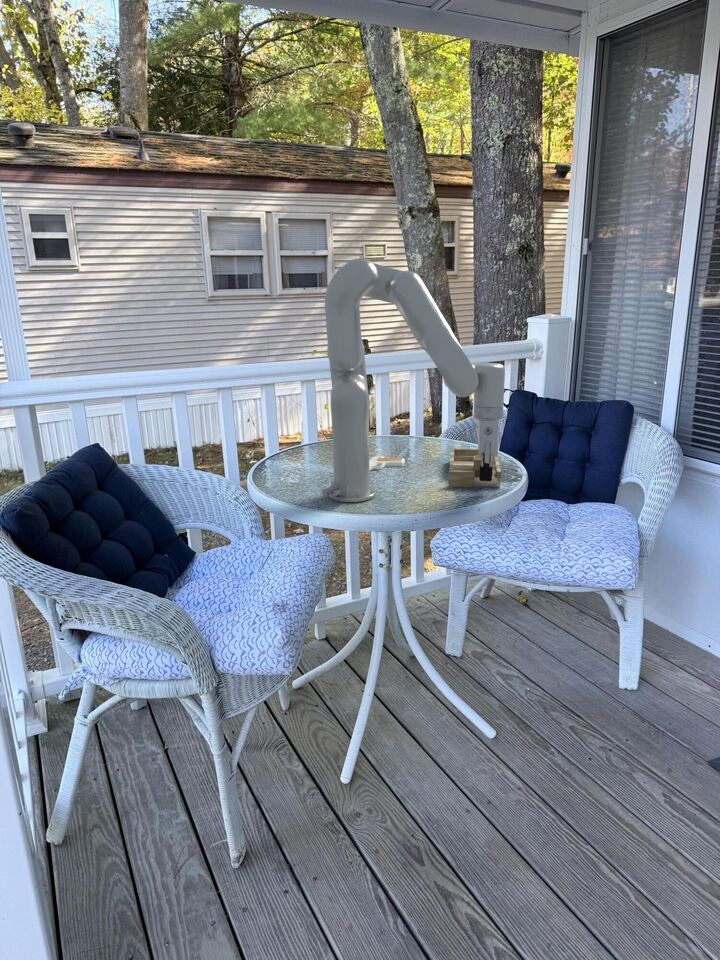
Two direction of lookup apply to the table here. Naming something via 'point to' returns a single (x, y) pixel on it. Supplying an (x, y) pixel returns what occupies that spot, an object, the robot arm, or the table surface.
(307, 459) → the table surface
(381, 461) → the pistol
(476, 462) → the block
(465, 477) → the tray
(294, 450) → the table surface
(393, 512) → the table surface
